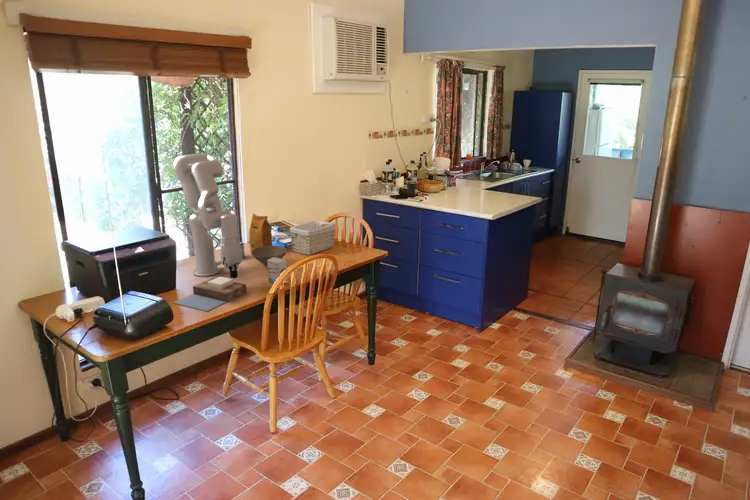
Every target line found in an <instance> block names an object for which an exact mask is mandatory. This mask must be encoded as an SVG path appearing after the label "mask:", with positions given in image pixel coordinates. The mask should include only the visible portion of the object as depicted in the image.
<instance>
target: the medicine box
mask: <svg viewBox="0 0 750 500" xmlns="http://www.w3.org/2000/svg"><path fill="white" fill-rule="evenodd" d="M239 242H240V245H241V249H242V259H243V258H245V256H246V253H245V246H244V245H245V244H244V243H245V242H241V241H239Z"/></svg>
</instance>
